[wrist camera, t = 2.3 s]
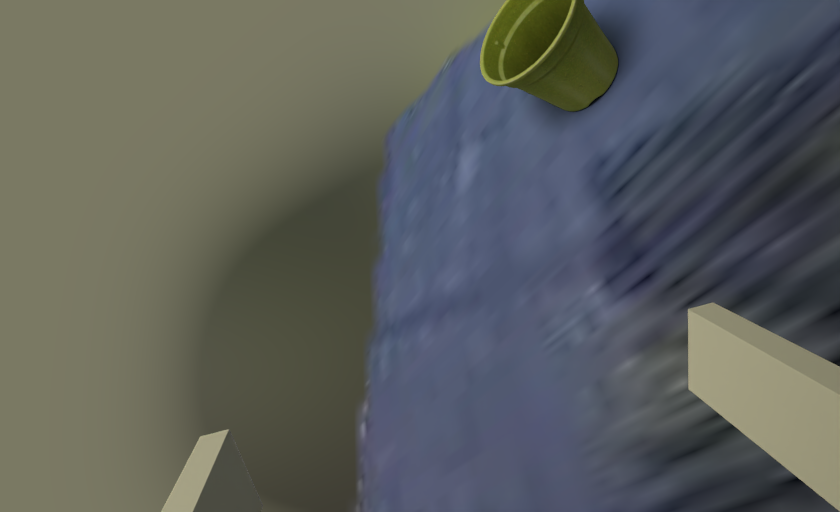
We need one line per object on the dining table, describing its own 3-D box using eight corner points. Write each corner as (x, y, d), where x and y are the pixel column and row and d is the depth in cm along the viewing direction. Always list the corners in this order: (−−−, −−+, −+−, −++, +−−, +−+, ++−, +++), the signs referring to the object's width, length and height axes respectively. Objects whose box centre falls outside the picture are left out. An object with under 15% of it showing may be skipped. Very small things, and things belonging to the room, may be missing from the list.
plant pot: (563, 37, 41) (502, -16, 36) (657, 15, 33) (595, -57, 29) (530, 129, 42) (466, 89, 37) (614, 128, 34) (546, 77, 29)
